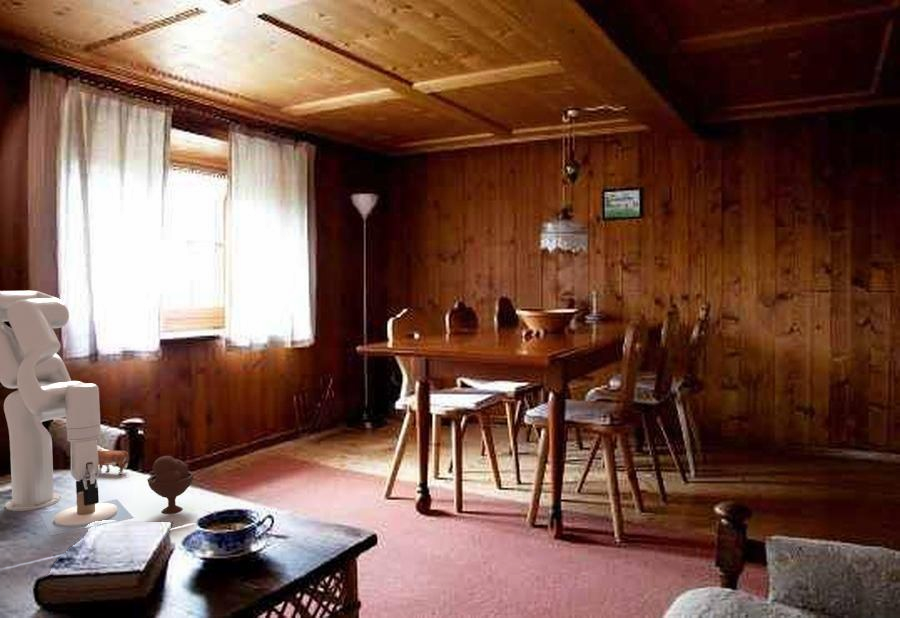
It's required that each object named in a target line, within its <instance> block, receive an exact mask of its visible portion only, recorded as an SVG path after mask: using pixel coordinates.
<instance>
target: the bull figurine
mask: <svg viewBox="0 0 900 618" xmlns="http://www.w3.org/2000/svg"><path fill="white" fill-rule="evenodd" d="M97 449H98V464H99V472H101V473H102V470H103V466H106V470H110V471H111V469H110V467H109V466H110V465H112V466H113V467H115V466H116V465H118V467H119V470H118V471H120V472H118V474H121V473H122V474H123V472H124V469H125V470H126V469H127V468H128V465H129V453H128V452H127V451H125V450H111V449H107V446H102V447H101V446H100V445H97ZM122 474H121V475H122Z"/></svg>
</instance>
